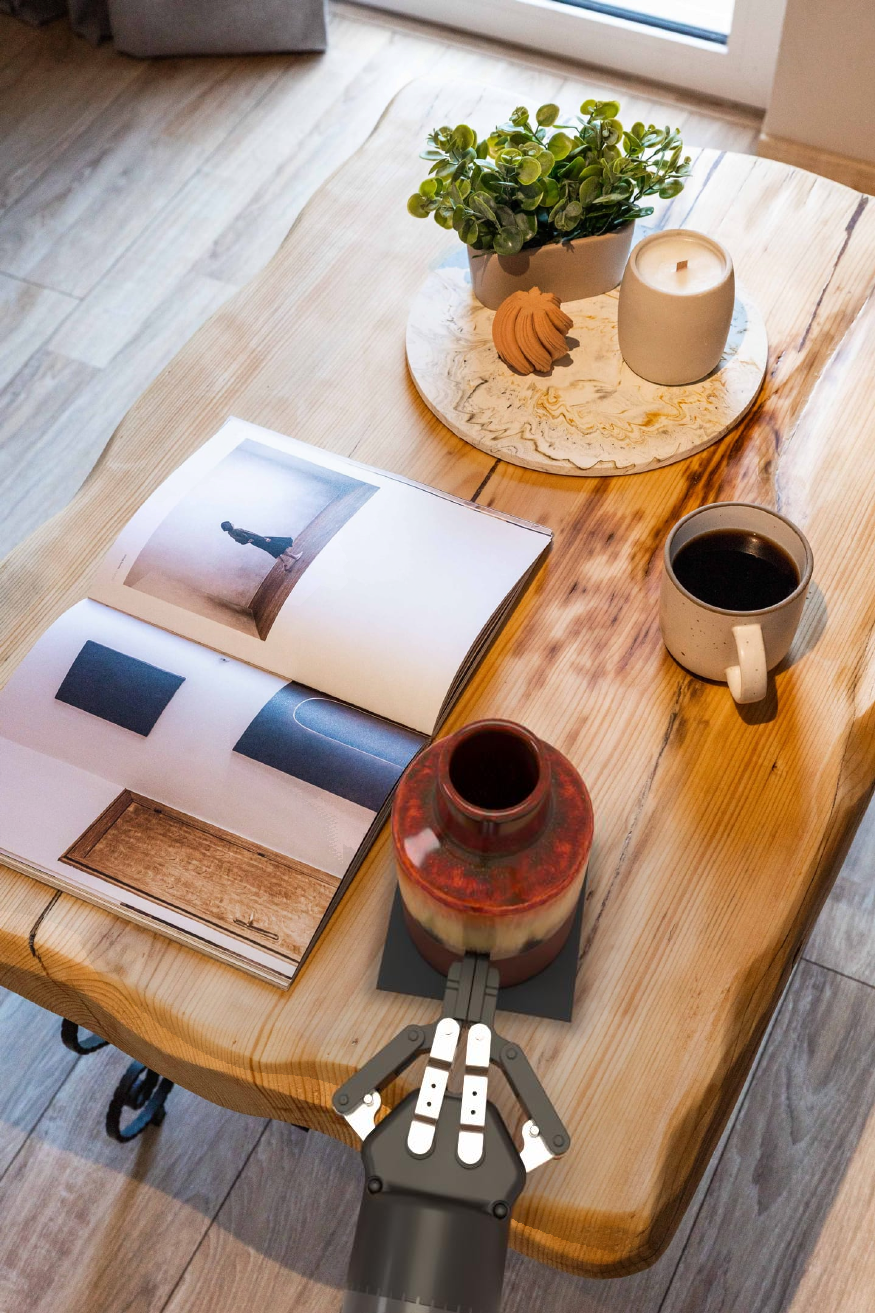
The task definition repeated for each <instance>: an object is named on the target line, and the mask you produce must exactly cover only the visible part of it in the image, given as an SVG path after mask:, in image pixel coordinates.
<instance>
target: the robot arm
mask: <svg viewBox="0 0 875 1313" xmlns="http://www.w3.org/2000/svg"><path fill="white" fill-rule="evenodd" d="M499 984H500V976H499V972H498V968H493V967H490V956H486V955H480V954H478V957H477V954H474V953H468V952H465V953H464V958H463V962H458V961H454V962H453V964H452V965H451V967H450V968H449V972H448V978H447V984H446V989H445V995H444V1000H442V1001H443V1002H442V1008H441V1013H440V1015H439V1017H438V1019H436V1020H435V1021H434V1022H432V1023H428V1024H422V1025H418V1024H414V1023H412V1024H408V1025H406V1026H405V1027H404V1028H403V1029H402V1030H401V1031H400V1032H399V1033H398V1034H397V1035H395V1036H394V1037H393V1038H392V1039H391V1040H390V1041H389V1042H388V1043H386V1045H385V1046H383V1047H382V1048H381V1049H380V1050H379V1051H378V1052H376V1054H375V1055H374V1056H372V1058H371V1059H369V1060H368V1061H367V1062H366V1063H365V1064H364V1065H363V1066H362V1067H361V1068H359V1070H357V1071H356V1072H355V1073H354V1074H353V1075H352V1076H351V1077H349V1078H348V1079H347V1080H346V1081H345V1082H344V1083H343V1084H342V1085H340V1087H339V1088H337V1090H335V1091H334V1093H333V1094H332V1097H331V1104H332V1106H333V1109H334V1111H335V1113H336V1114H337V1115H338V1116H339V1117H340V1118H341V1119H342V1120H345V1121H346V1122H347V1123H348V1125H350V1127H351V1128H352V1130H353V1131H354V1132H355V1133H356V1134H357V1136H358V1137H359V1138H360V1139H361V1141H362V1143H361V1147H360V1158H361V1162H362V1165H363V1170H364V1185H363V1191H362V1196H361V1201H360V1206H359V1211H358V1217H357V1221H356V1226H355V1232H354V1237H353V1242H352V1247H351V1251H350V1257H349V1262H348V1268H347V1272H346V1278H345V1284H344V1288H343V1289H344V1290H343V1294H342V1298H341V1299H342V1300H341V1305H340V1308H339V1312H338V1313H500V1309H501V1301H502V1294H503V1285H504V1278H505V1269H506V1263H507V1255H508V1247H509V1240H510V1231H511V1226H512V1217H513V1209H514V1207H515V1204H516V1202H517V1201H518V1199H519V1197H520V1196H521V1194H522V1193H523V1192H524V1190H525V1187H526V1184H527V1181H528V1174H529V1173H531V1172H533V1171H535V1170H536V1169H538V1168H540V1167H542V1166H543V1165H545V1164H546V1163H548V1162H550V1161H552V1160H553V1161H559V1160H562V1159H563V1158H564V1157H565V1156H566V1154H567V1152H568V1151H569V1149H570V1147H571V1136H570V1134H569V1132H568V1131H567V1129H566V1127H565V1126H564V1123H563V1122H562V1120H561V1118H560V1116H559V1114H558V1112H557V1110H556V1109H555V1107H554V1105H553V1103H552V1102H551V1100H550V1098H549V1096H548V1094H547V1092H546V1091H545V1089H544V1087H543V1085H542V1083H541V1082H540V1080H539V1078H538V1076H537V1074H536V1072H535V1071H534V1069H533V1067H532V1065H531V1063H530V1062H529V1060H528V1058H527V1056H526V1054H525V1052H524V1051H523V1049H522V1047H521V1045H519V1044H518V1043H516V1042H513V1041H512V1042H511V1041H509V1040H507V1039H506V1038H504V1037H502V1036H501V1035H499V1033H497V1031H496V1029H495V1017H496V1010H497V1009H496V1004H497V998H498V991H499ZM463 1030H468V1033H467V1043H466V1044H467V1045H466V1059H465V1066H464V1077H463V1089H462V1092H456V1093H455V1092H452V1091H450V1087H451V1083H452V1079H453V1072H454V1068H455V1065H456V1060H457V1055H458V1051H459V1048H460V1044H461V1041H462V1035H463ZM428 1054H429V1057H428V1060H427V1063H426V1067H425V1071H424V1075H423V1079H422V1083H421V1086H418V1087H416V1088H413V1089H412V1090H410V1091H409V1092H408V1093H407V1094H405V1096H404V1097H403V1098H401V1100H400V1101H399V1102H398V1103H397V1104H396V1105H395V1106H394V1107H393V1108H391V1110H390V1111H389V1112H388V1113H387V1114H386V1115H385V1116H384V1117H383V1118H382V1119H381V1120H380V1121H379V1122H377V1124H376V1118H377V1116H378V1114H379V1113H380V1111H381V1110H382V1107H383V1102H382V1098H381V1096H380V1094H382V1093H383V1091H385V1090H386V1089H387V1088H388V1087H389V1086H390V1085H391V1084H392V1083H393V1082H394V1081H395V1080H396V1079H398V1078H399V1077H400V1076H401V1075H402V1074H404V1072H405V1071H407V1069H408V1068H410V1067H411V1066H412V1065H413V1063H415V1062H416V1061H417V1060H418V1059H419V1058H421V1057H422V1056H424V1055H428ZM490 1064H491V1065H493V1066H494V1067H496V1068H498V1069H500V1071H501V1073H502V1075H503V1076H504V1078H505V1080H506V1082H507V1084H508V1086H509V1087H510V1090H511V1091H512V1094H513V1095H514V1097H515V1099H516V1101H517V1102H518V1105H519V1106H520V1108H521V1111H522V1112H523V1114H524V1116H525V1118H526V1119H527V1121H526V1122H525V1123H524V1124H523V1126H522V1128H521V1140H522V1142H523V1150H522V1151H521V1152H519V1149H518V1147H517V1145H516V1143H515V1141H514V1138H513V1137H512V1135H511V1133H510V1131H509V1128H508V1126H507V1125H506V1122H505V1120H504V1118H503V1116H502V1114H501V1112H500V1110H499V1108H498V1107H497V1106H496V1105H495V1103H494V1102H492V1101H491V1100H490V1099H488V1097H487V1095H488V1085H489V1084H488V1083H489V1082H488V1081H489V1069H490Z"/></svg>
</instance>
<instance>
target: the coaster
mask: <svg viewBox="0 0 875 1313" xmlns="http://www.w3.org/2000/svg"><path fill="white" fill-rule="evenodd" d="M589 861H590V859H589V860H588V864H587V868H586V873H585V877H584V881H583V885H582V889H581V893H580V897H579V901H578V905H577V909H576V913H575V917H574V921H573V924H572V928H571V931H570V934H569V937H568V940H567V942H566V944H565V945H564V947H563V949H562V951H561V953H560V954H559V955H558V956H557V958H556V959H555V960H554V962H553V963H552V964H551V965H549V966H548V967H547V968H546V969H545V970H544V971H543V972H542V973H540V974H539V975H537V976H536V977H534V978H533V979H531V980H529V981H527V982H524V983H522V984H520V985H517V986H513V987H510V988H506V989H499V991H498V998H497V1004H496V1010H497V1011H502V1012H503V1011H504V1012H509V1013H514V1014H519V1015H520V1014H521V1015H527V1016H531V1017H532V1016H533V1017H539V1018H545V1019H550V1020H555V1021H560V1022H561V1021H562V1022H568V1023H572V1017H573V1007H574V999H575V989H576V981H577V972H578V963H579V961H578V960H579V954H580V953H579V952H580V945H581V936H582V926H583V917H584V908H585V898H586V888H587V879H588V872H589V871H588V870H589V864H590V863H589ZM377 976H378V977H377V981H376V987H375V990H380V991H387V992H391V993H398V994H404V995H409V996H415V997H422V998H425V999H426V998H427V999H431V1000H432V999H433V1000H439V1001H444V995H445V989H446V984H447V978H446V977H444V976H442V975H441V974H439V973H438V972H437V971H436V970H434V969H433V968H432V967H431V966H430V965H429V964H428V963H427V962H426V961H425V960H424V959H423V957H422V956H421V955H420V954H419V952H418V951H417V949H416V947H415V946H414V944H413V942H412V940H411V937H410V935H409V933H408V930H407V926H406V922H405V917H404V912H403V906H402V899H401V893H400V887H399V881H398V880H397V881H396V886H395V891H394V896H393V902H392V906H391V912H390V916H389V922H388V926H387V932H386V937H385V942H384V946H383V952H382V955H381V961H380V966H379V971H378V975H377Z"/></svg>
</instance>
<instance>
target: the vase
mask: <svg viewBox="0 0 875 1313" xmlns="http://www.w3.org/2000/svg"><path fill="white" fill-rule="evenodd" d="M592 802H593V801H592V798H591V796H590V792H589V790H588V787H587V785H586V783H585V781H584V779H583V778H582V776H581V774H580V772H579V771H578V770H577V768H576V767H575V766H574V764H573V763H572V761H570V759H569V758H568V757H567V756H566V755H564V754H563V753H562V752H561V751H560V750H559V749H558V748H556V747H555V746H553V745H552V744H550V743H549V742H547V741H546V740H544V739H542V738H540V737H538V736H537V735H536V734H535V733H534V732H533V731H532V730H530V729H529V728H528V727H526V726H525V725H523V724H521V723H519V722H516V721H513V720H511V719H505V718H501V717H500V718H499V717H490V718H481V719H477V720H474V721H472V722H471V721H470V722H469V723H467V724H465V725H463V726H461V727H460V728H459V729H457V730H456V731H455V732H454V733H452V734H449V735H447V736H444V737H443V738H441V739H439V740H437V741H435V742H434V743H432V744H431V745H430V746H428V747H426V749H424V750H423V751H422V752H421V753H419V755H417V757H416V758H415V759H414V760H413V761H412V762H411V763H410V765H409V766H408V768H407V769H406V771H405V772H404V774H403V775H402V777H401V778H400V781H399V783H398V786H397V788H396V790H395V793H394V797H393V801H392V804H391V813H390V829H391V831H390V832H391V840H392V841H391V842H392V848H393V849H392V850H393V854H394V861H395V867H396V873H397V881H399V887H400V893H401V899H402V906H403V912H404V917H405V922H406V926H407V930H408V933H409V935H410V937H411V940H412V942H413V944H414V946H415V947H416V949H417V951H418V952H419V954H420V955H421V956H422V957H423V959H424V960H425V961H426V962H427V963H428V964H429V965H430V966H431V967H432V968H433V969H434V970H436V971H437V972H438V973H439V974H441V975H442V976H444V977H446V978H448V972H449V968H450V967H451V965H452V964H453V962H454V961H458V962H463V958H464V953H465V952H468V953H474V954H477V957H478V954H480V955H486V956H490V967H493V968H498V972H499V976H500V984H499V989H506V988H510V987H513V986H517V985H520V984H522V983H524V982H527V981H529V980H531V979H533V978H534V977H536V976H537V975H539V974H540V973H542V972H543V971H544V970H545V969H546V968H547V967H548V966H549V965H551V964H552V963H553V962H554V960H555V959H556V958H557V956H558V955H559V954H560V953H561V951H562V949H563V947H564V945H565V944H566V942H567V940H568V937H569V934H570V931H571V928H572V924H573V921H574V917H575V913H576V909H577V905H578V901H579V897H580V893H581V889H582V885H583V881H584V877H585V873H586V868H587V864H588V865H589V863H588V860H589V861H590V856H591V850H592V846H593V841H594V833H595V813H594V807H593V803H592Z"/></svg>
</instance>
